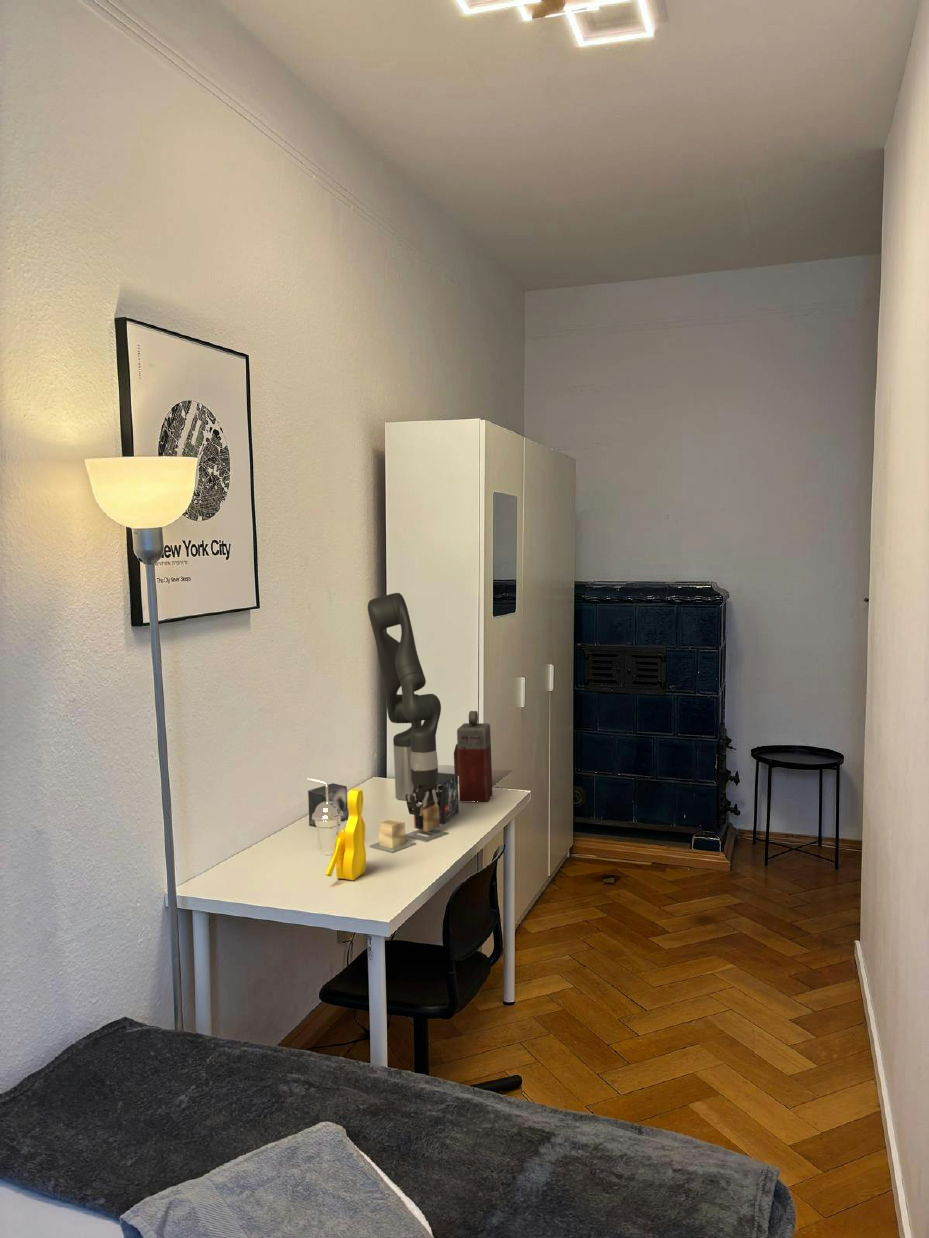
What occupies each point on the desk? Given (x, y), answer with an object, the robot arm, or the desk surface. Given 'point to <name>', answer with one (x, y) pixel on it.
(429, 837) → the code tile
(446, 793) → the small box
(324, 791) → the small box
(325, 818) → the cup with straw
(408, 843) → the code tile
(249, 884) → the desk surface
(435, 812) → the walnut block
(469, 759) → the red grey bottle
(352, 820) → the figure statuette
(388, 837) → the maple block
